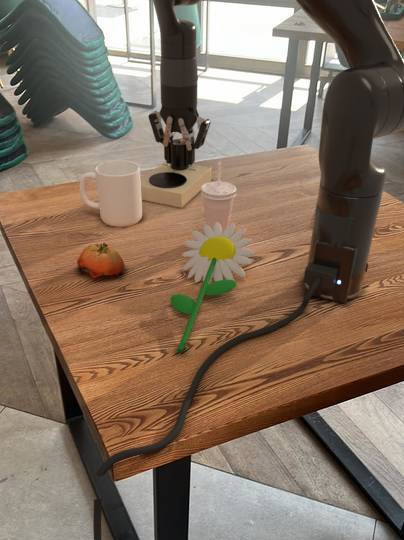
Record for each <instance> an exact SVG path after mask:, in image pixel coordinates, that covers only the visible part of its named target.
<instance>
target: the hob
mask: <svg viewBox="0 0 404 540" xmlns="http://www.w3.org/2000/svg"><path fill="white" fill-rule="evenodd" d="M212 169H213V168H212V167H210V166H205V165H198V164H195V163H193V164H192V166H190V167H188V169H186V170H174V169H172V168H171V164H168V163H167V162H166V160H164V162H162V163H161V164H159V165H158V166H157V167H155V168H154V169H152V171H150V172H148V173H147V174H146V175H145V176H143V177H142V178H140V179H141V198H142V201H146V202H151V203H157V204H161V205H166V206H170V207H176V208H181V209H182V208H183V207H184V206H186V204H188V203H189V202H190V201H191V200H192V199H193V198H194V197H195V196H196V195H197V194H198V193H199V192H201V187H202V185H203V184H205V183H208V182H212ZM163 172H173V173H178V174H182V175H184V176H185V177H186V178H187V182H186V183H185V184H184V185H182V186H180V187H176V188H160V187H156V186H153V185H151V184H150V183H149V178H150V177H151V176H152V175H154V174H157V173H163Z"/></svg>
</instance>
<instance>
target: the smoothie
mask: <svg viewBox="0 0 404 540" xmlns="http://www.w3.org/2000/svg"><path fill="white" fill-rule="evenodd" d="M200 195H201V196H202V202H203V210H204V211H203V212H204V220H205V225H208V226H210V227H211V229H212V230H213V227H214V224H215V223H216V222H218V223H219V224H220V225H221V227H222V232H224V230H225V229H226V228H227V226H229V225H230V221H231V216H232V212H233V211H232V210H233V207H234V201H235V200H234V199H235V197H236V195H237V187H236V186H235V185H234V184H233V183H232V182H231V183H230V182H227V181H222V161H218V163H217V180H215V181H210V182H208V183H205V184H203V185H202V187H201V190H200Z"/></svg>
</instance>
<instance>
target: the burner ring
mask: <svg viewBox="0 0 404 540" xmlns="http://www.w3.org/2000/svg"><path fill="white" fill-rule="evenodd" d="M186 182H187V178H186V177H185V176H184V175H182V174H178V173H173V172H163V173H157V174H154V175H152V176H151V177H150V178H149V183H150V184H151V185H153V186H156V187H160V188H176V187H180V186H182V185H184V184H185V183H186Z"/></svg>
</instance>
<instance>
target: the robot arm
mask: <svg viewBox="0 0 404 540" xmlns="http://www.w3.org/2000/svg"><path fill="white" fill-rule="evenodd" d="M201 1H202V0H152V3H153V7H154V11H155V14H156V18H157V24H158V29H159V35H160V64H159V78H160V79H159V80H160V83H159V84H160V104H161V107H160V110H159V111H157V110H155V111H153V112H151V113H149V114H148V120H149V123H150V126H151V131H152V134H153V136H154V140H155V142H156V143H159V144H162V146H163V158H164V161H166V162H167V163H168V164H171V162H170V141H171V140H174V139H175V135H176V133H178V134H181V137H182V138H183V139H184V140H185V144H186V148H187V150H186V167H190V166H192V164H195V162H196V150H198V149H200V148H201V147H203V146H204V144H205V141H206V138H207V135H208V132H209V129H210V127H211V123H212V122H211V119H209V118H206V119H205V118H203V117H201V116H200V114H199V111H198V80H199V74H198V61H197V42H198V41H197V40H198V39H197V38H198V37H197V36H198V35H197V27H196V24H195V23H194V22H193V21H190V20H188V19H182V18H178V17H177V15H176V12H175V9H174V7H184V6H185V7H187V6H194V5H197V4H199V3H200V2H201ZM294 2H295V3H296V4H297V5H298V6H299V8H301V10H302V11H303V12H304V13H305V15H306V16H308V17H309V19H310V20H311V21H313V23H314V24H315V25H316V26H318V27H319V28H320V29H321V31H323V32H324V34H326V35H327V36H328V37H329V39H331V40H332V41H333V43H334V44H335V45H336V46H337V48H338V49H339V51H340V52H341V54H342V55H343V58H344V59H345V60H344V61H346V64H347V66H348V68H346V69H343V70H341V71H339V72H338V73H336V75H335V76H334V77H333V78H332V79H331V81H330V83H329V85H328V87H327V90H326V93H325V97H324V100H323V106H322V111H321V113H322V114H321V121H320V123H321V125H320V134H319V144H318V145H319V146H318V165H319V170H320V179H319V185H318V192H317V199H316V205H315V211H314V217H313V218H314V219H313V224H312V232H311V238H310V244H309V251H308V259H307V265H306V267H305V269H304V275H303V284H304V287H305V288H306V290H307V292H306V294H305V295H304V297H303V299H302V302H301V304H300V305H299V306H298V307H297V308H296V310H295V311H293V312H292V313H291V314H289V316H287V317H285V318H283V319H280V320H279V321H277V322H274V323H272V324H270V325H268V326H264V327H262V328H258V329H255V330H251V331H248V332H244V333H241V334H239V335H237V336H235V337H233V338H231V339H230V340H228V341H226V342H225V343H223V344H222V345H220V346H218V348H216V349H215V350H213V352H212V353H211V354H210V355H208V356H207V358H206V359H205V360H204V362H203V363H202V364H201V365H200V366H199V368H198V369H197V371H196V373H195V375H194V377H193V379H192V382H191V383H190V385H189V389H188V391H187V393H186V394H185V395H186V396H185V397H184V399H183V401H182V404H181V407H180V409H179V412H178V416H177V418H176V422H175V424H174V426H173V428H172V429H171V431H170V432H168V434H167V435H165V437H163V438H162V439H161V440H159V441H158V442H155V443H152V444H147V445H143V446H136V447H132V448H127V449H124V450H121V451H118V452H116V453H114V454H112V455H111V456H109V457H108V458H107V459H106V460H105V461H104V462H103V463H102V464H101V465H100V466H99V468H98V470H97V471H96V474H95V475H96V476H97V477H99V478H100V477H103V476H105V475H106V473H107V472H108V471H109V469H110V468H112V467H113V466H114V465H115V464H117V463H118V462H120V461H122V460H125V459H128V458H132V457H137V456H142V455H147V454H148V455H149V454H152V453H156V452H158V451H160V450H162V449H164V448H166V447H167V446H169V445H170V444H171V443H172V442H174V440H175V439H176V438H177V437H178V435H179V434H180V432H181V430H182V428H183V427H184V423H185V420H186V418H187V415H188V412H189V409H190V405H191V403H192V401H193V399H194V396H195V394H196V392H197V389H198V387H199V384H200V382H201V379H202V378H203V376H204V374H205V372H206V371H207V370H208V368H209V367H210V366H211V365H212V364H213V363H214V362H215V361H216V360H217V358H218V357H219V356H220V355H223V353H225V352H226V351H228V350H229V349H231V348H232V347H234V346H236V345H237V344H240V343H241V342H243V341H246V340H249V339H253V338H256V337H260V336H263V335H265V334H269V333H271V332H273V331H275V330H277V329H280V328H283V327H284V326H286V325H288V324H290V323H291V322H293V321H294V320H295V319H297V318H298V317H299V316H300V315H301V314H302V313H303V312H304V311H305V309H306V308H307V307H308V305H309V303H310V300H311V298H312V297H315V298H320V299H324V300H328V301H332V302H335V303H336V302H337V303H341V304H346V303H347V301H348V300H353V299H355V298H357V297H358V296H359V295H361V293H362V290H363V282H364V280H365V279H364V278H365V275H366V274H368V269H369V263H368V260H369V256H370V252H371V251H370V250H371V246H372V242H373V237H374V232H375V229H376V223H377V220H378V215H379V210H380V206H381V203H382V197H383V193H384V189H385V185H386V180H387V170H386V168H385V166H383V165H382V164H380V163H379V162H377V161H376V160H373V159H372V158H371V157H372V150H373V149H372V148H373V141H374V140H375V139H377V138H378V139H379V138H382V137H385V136H389V135H392V134H396V133H398V132H400V131H402V130H404V58H403V56H402V54H401V53H400V50H399V49H398V47H397V45H396V43H395V41H394V40H393V38H392V36H391V34H390V32H389V30H388V28H387V26H386V25H385V23H384V20H383V18H382V17H381V14H380V12H379V10H378V7H377V5H376V2H375V0H294ZM162 121H163V123H164V124H165V128H164V127H163V124H162ZM196 124H197V129H198V132H197V135H196V134H195V133H196V132H195V129H194V126H195V125H196ZM195 135H196V137H195ZM365 273H366V274H365ZM102 511H103V499H102V498H96V499H93V520H92V521H93V522H92V523H93V525H92V526H93V527H92V528H93V540H102Z"/></svg>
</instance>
